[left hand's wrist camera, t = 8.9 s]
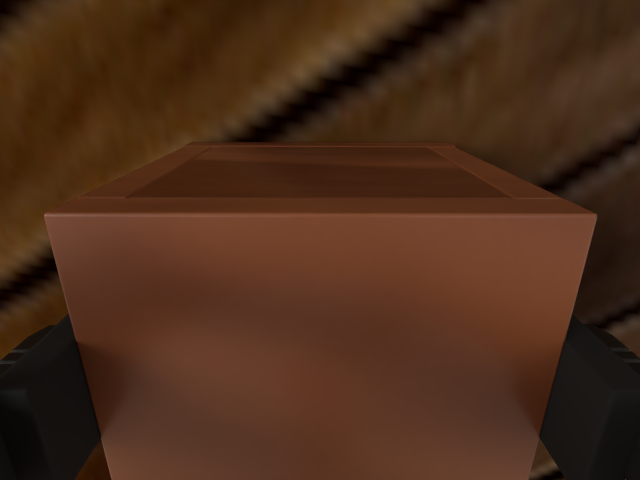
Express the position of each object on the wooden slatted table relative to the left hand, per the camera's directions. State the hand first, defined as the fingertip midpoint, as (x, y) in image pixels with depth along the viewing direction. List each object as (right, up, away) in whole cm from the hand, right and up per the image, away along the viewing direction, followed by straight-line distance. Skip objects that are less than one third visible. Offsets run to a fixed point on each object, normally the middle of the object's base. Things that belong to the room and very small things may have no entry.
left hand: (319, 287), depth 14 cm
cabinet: (0, -3, +6) cm, 7 cm away
